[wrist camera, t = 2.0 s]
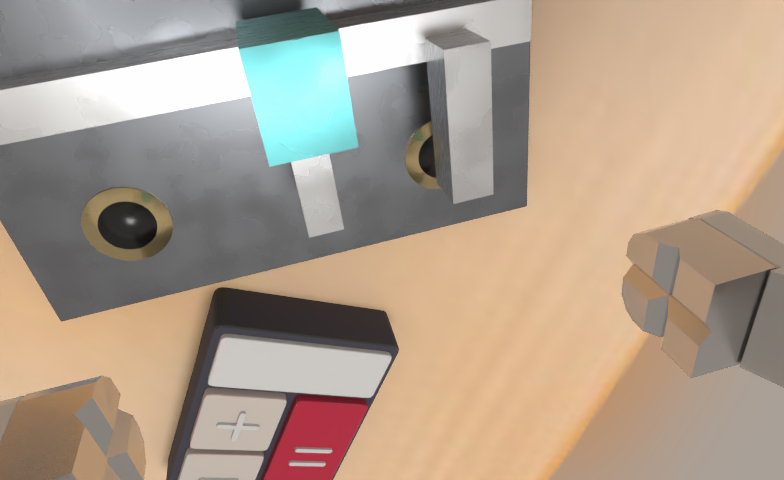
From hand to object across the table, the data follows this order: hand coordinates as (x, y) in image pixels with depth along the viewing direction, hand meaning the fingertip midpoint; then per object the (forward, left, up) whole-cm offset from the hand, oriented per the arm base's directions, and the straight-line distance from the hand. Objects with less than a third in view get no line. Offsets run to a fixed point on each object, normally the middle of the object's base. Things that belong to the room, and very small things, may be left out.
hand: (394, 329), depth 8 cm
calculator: (+5, +21, -21) cm, 31 cm away
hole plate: (+1, +3, -21) cm, 21 cm away
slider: (0, +2, -19) cm, 19 cm away
